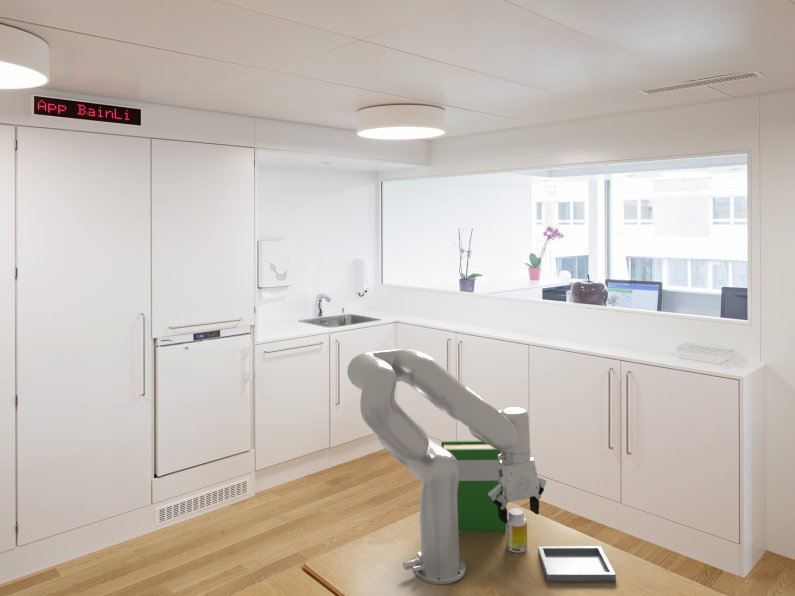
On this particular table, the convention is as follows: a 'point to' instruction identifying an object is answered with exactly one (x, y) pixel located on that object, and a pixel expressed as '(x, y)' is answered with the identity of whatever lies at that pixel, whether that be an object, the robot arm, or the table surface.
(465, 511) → the hardback book
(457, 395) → the robot arm
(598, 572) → the tray
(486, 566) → the table surface
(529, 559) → the table surface
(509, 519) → the supplement bottle
